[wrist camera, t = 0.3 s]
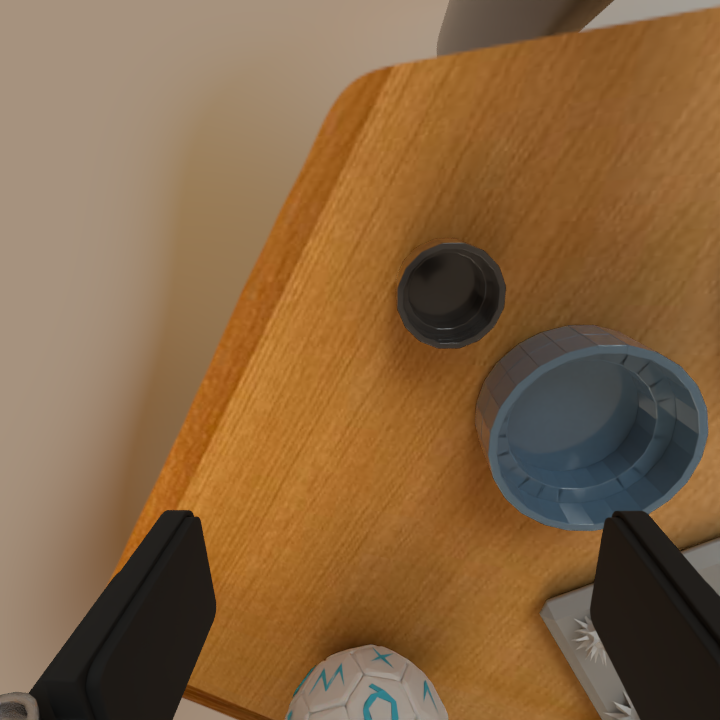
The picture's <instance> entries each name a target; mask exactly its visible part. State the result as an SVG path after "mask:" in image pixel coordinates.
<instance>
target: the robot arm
mask: <svg viewBox="0 0 720 720" xmlns="http://www.w3.org/2000/svg"><path fill="white" fill-rule="evenodd" d="M215 613H216V599H215V594H214V589H213V584H212V578H211V573H210V568H209V562H208V557H207V552H206V547H205V541H204V536H203V531H202V525H201V521H200V518H199V517H194V515H193V513H192V511H189V510H167V511H165V512H164V513H163V514H162V515H161V516H160V518H159V519H158V520H157V522H156V523H155V524H154V526H153V527H152V529H151V530H150V531H149V533H148V534H147V535H146V537H145V538H144V540H143V541H142V542H141V544H140V545H139V546H138V548H137V549H136V551H135V552H134V553H133V555H132V556H131V557H130V559H129V560H128V562H127V563H126V564H125V566H124V567H123V568H122V570H121V571H120V572H119V573H118V574H117V575H116V576H115V577H114V578H113V579H112V580H111V582H110V583H109V584H108V586H107V587H106V589H105V590H104V591H103V593H102V594H101V595H100V597H99V598H98V599H97V601H96V602H95V604H94V605H93V606H92V608H91V609H90V610H89V612H88V613H87V615H86V616H85V617H84V619H83V620H82V621H81V623H80V624H79V625H78V627H77V628H76V629H75V631H74V632H73V633H72V635H71V636H70V638H69V639H68V640H67V642H66V643H65V644H64V646H63V647H62V649H61V650H60V651H59V653H58V654H57V655H56V657H55V658H54V659H53V661H52V662H51V663H50V665H49V666H48V668H47V669H46V670H45V672H44V673H43V674H42V676H41V677H40V678H39V680H38V681H37V682H36V684H35V685H34V687H33V688H32V689H31V691H30V692H29V693H21V692H13V693H8V694H3V695H0V720H173V717H174V715H175V712H176V710H177V708H178V705H179V703H180V700H181V698H182V695H183V693H184V691H185V688H186V686H187V683H188V681H189V679H190V676H191V674H192V671H193V669H194V667H195V664H196V662H197V659H198V657H199V655H200V652H201V650H202V647H203V645H204V642H205V640H206V638H207V635H208V633H209V630H210V628H211V626H212V623H213V621H214V618H215ZM590 616H591V620H592V624H593V626H594V628H595V630H596V632H597V634H598V636H599V638H600V640H601V642H602V644H603V646H604V648H605V650H606V652H607V654H608V656H609V658H610V660H611V662H612V664H613V666H614V668H615V670H616V672H617V674H618V676H619V678H620V680H621V682H622V684H623V686H624V688H625V690H626V692H627V694H628V696H629V698H630V700H631V702H632V704H633V706H634V708H635V710H636V712H637V714H638V716H639V718H640V720H720V596H719V595H718V594H717V593H716V592H715V590H714V589H713V588H712V587H711V586H710V585H709V584H708V583H707V582H706V581H705V580H704V579H703V577H702V576H701V575H700V574H699V573H698V572H697V570H696V569H695V568H694V567H693V566H692V565H691V563H690V562H689V561H688V560H687V559H686V558H685V557H684V555H683V554H682V553H681V552H680V551H679V550H678V548H677V547H676V546H675V545H674V544H673V543H672V541H671V540H670V539H669V538H668V537H667V536H666V535H665V533H664V532H663V531H662V530H661V529H660V528H659V526H658V525H657V524H656V523H655V522H654V521H653V519H652V518H651V517H650V516H649V515H648V514H647V513H646V512H644V511H614V513H613V514H612V517H608V518H606V519H605V522H604V527H603V533H602V539H601V545H600V551H599V557H598V563H597V569H596V575H595V580H594V586H593V592H592V598H591V604H590Z"/></svg>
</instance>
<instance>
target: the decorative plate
mask: <svg viewBox="0 0 720 720" xmlns="http://www.w3.org/2000/svg"><path fill="white" fill-rule="evenodd" d="M680 552H681V553H682V554H683V555H684V557H685V558H686V559H687V560H688V561H689V562H690V563H691V565H692V566H693V567H694V568H695V569H696V570H697V572H698V573H699V574H700V575H701V576H702V577H703V579H704V580H705V581H706V582H707V583H708V584H709V585H710V586H711V587H712V588H713V589H714V590H715V592H716V593H717V594H718V595H719V596H720V537H718V538H715V539H713V540H710V541H707V542H704V543H702V544H699V545H696V546H693V547H691V548H688V549H685V550H682V551H680ZM593 586H594V583H591V584H589V585H586V586H583V587H580V588H578V589H575V590H572V591H569V592H567V593H564V594H561V595H558V596H556V597H553V598H550V599H547V600H546V602H545V604H544V605H543V607H542V609H541V611H540V615H541V617H542V619H543V621H544V622H545V624H546V626H547V627H548V629H549V631H550V632H551V634H552V636H553V637H554V639H555V641H556V643H557V644H558V646H559V648H560V649H561V651H562V653H563V654H564V656H565V658H566V659H567V661H568V663H569V665H570V666H571V668H572V670H573V671H574V673H575V675H576V676H577V678H578V680H579V681H580V683H581V685H582V687H583V688H584V690H585V692H586V693H587V695H588V697H589V698H590V700H591V702H592V704H593V705H594V707H595V709H596V710H597V712H598V714H599V715H600V717H601V719H602V720H640V718H639V716H638V714H637V712H636V710H635V708H634V706H633V704H632V702H631V700H630V698H629V696H628V694H627V692H626V690H625V688H624V686H623V684H622V682H621V680H620V678H619V676H618V674H617V672H616V670H615V668H614V666H613V664H612V662H611V660H610V658H609V656H608V654H607V652H606V650H605V648H604V646H603V644H602V642H601V640H600V638H599V636H598V634H597V632H596V630H595V628H594V626H593V624H592V620H591V616H590V604H591V598H592V592H593Z"/></svg>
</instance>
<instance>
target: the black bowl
mask: <svg viewBox="0 0 720 720" xmlns="http://www.w3.org/2000/svg"><path fill="white" fill-rule="evenodd" d="M396 278H397V279H396V301H397V309H398V312H399V314H400V316H401V319H402V321H403V324H404V326H405V328H406V329H407V330H408V331H409V332H410V333H411V334H413V335H414V336H415V337H416V338H417V339H418V340H419V341H420V342H423V343H425V344H428V345H430V346H433V347H436V348H439V349H445V348H461V347H464V346H466V345H469V344H472V343H474V342H477V341H479V340H480V339H481V338H482V337H483V336H484V335H486V334H487V333H488V332H489V331H490V330H491V329H492V328H493V327H494V326H495V324H496V323H497V321H498V319H499V317H500V315H501V313H502V311H503V309H504V304H505V292H506V285H505V282H504V279H503V276H502V273H501V270H500V267H499V266H498V264H497V263H496V262H495V261H494V260H493V259H492V258H491V257H490V256H489V255H488V254H487V253H486V252H485V251H484V250H482V249H480V248H477V247H475V246H473V245H471V244H468V243H466V242H464V241H461V240H459V239H455V238H436V239H433V240H431V241H428V242H426V243H424V244H422V245H419V246H418V247H416V248H415V249H414V250H413V251H412V252H411V253H410V254H409V255H408V256H407V257H406V258H405V259H404V261H403V263H402V265H401V268H400V270H399V272H398V275H397V277H396Z"/></svg>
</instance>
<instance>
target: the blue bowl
mask: <svg viewBox="0 0 720 720" xmlns="http://www.w3.org/2000/svg"><path fill="white" fill-rule="evenodd" d="M475 426H476V431H477V435H478V439H479V443H480V446H481V449H482V451H483V454H484V456H485V459H486V461H487V464H488V466H489V469H490V471H491V474H492V476H493V479H494V481H495V482H496V484H497V486H498V487H499V489H500V491H501V492H502V494H503V496H504V497H505V499H506V500H508V501H509V502H510V503H511V504H512V505H513V506H514V507H515V508H516V509H517V510H518V511H520V512H521V513H522V514H524V515H526V516H528V517H530V518H532V519H534V520H536V521H538V522H540V523H541V524H544V525H547V526H551V527H556V528H560V529H564V530H573V531H596V530H601V529H603V527H604V522H605V519H606V518H608V517H612V514H613V513H614V511H644V512H646V513H647V514H649V513H651V512H652V511H654V510H655V509H657V508H659V507H660V506H662V505H663V504H665V503H666V502H668V501H669V500H670V499H671V498H672V497H673V496H674V495H675V494H676V493H677V492H678V491H679V490H680V489H681V488H682V487H683V486H684V485H685V484H686V483H687V482H688V480H689V479H690V477H691V476H692V474H693V472H694V471H695V469H696V467H697V465H698V464H699V462H700V460H701V458H702V455H703V452H704V448H705V444H706V441H707V437H708V416H707V407H706V405H705V402H704V400H703V397H702V395H701V392H700V390H699V387H698V386H697V384H696V383H695V382H694V381H693V380H692V378H691V377H690V376H689V375H688V374H687V373H686V372H685V370H684V369H683V368H682V367H681V366H680V365H678V364H676V363H675V362H673V361H671V360H670V359H668V358H666V357H665V356H663V355H661V354H659V353H658V352H656V351H654V350H652V349H650V348H648V347H647V346H645V345H643V344H641V343H639V342H637V341H636V340H634V339H632V338H630V337H628V336H626V335H624V334H623V333H621V332H618V331H615V330H611V329H607V328H603V327H599V326H596V325H595V326H594V325H568V326H564V327H560V328H556V329H552V330H548V331H544V332H541V333H539V334H537V335H535V336H533V337H531V338H529V339H527V340H525V341H523V342H521V343H519V344H518V345H517V346H515V347H514V348H513V349H512V350H511V351H510V352H508V353H507V354H506V355H505V356H504V357H503V358H502V359H500V360H499V361H498V362H497V364H496V365H495V366H494V368H493V369H492V371H491V372H490V373H489V375H488V376H487V378H486V379H485V381H484V383H483V386H482V389H481V391H480V394H479V397H478V400H477V403H476V416H475Z"/></svg>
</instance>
